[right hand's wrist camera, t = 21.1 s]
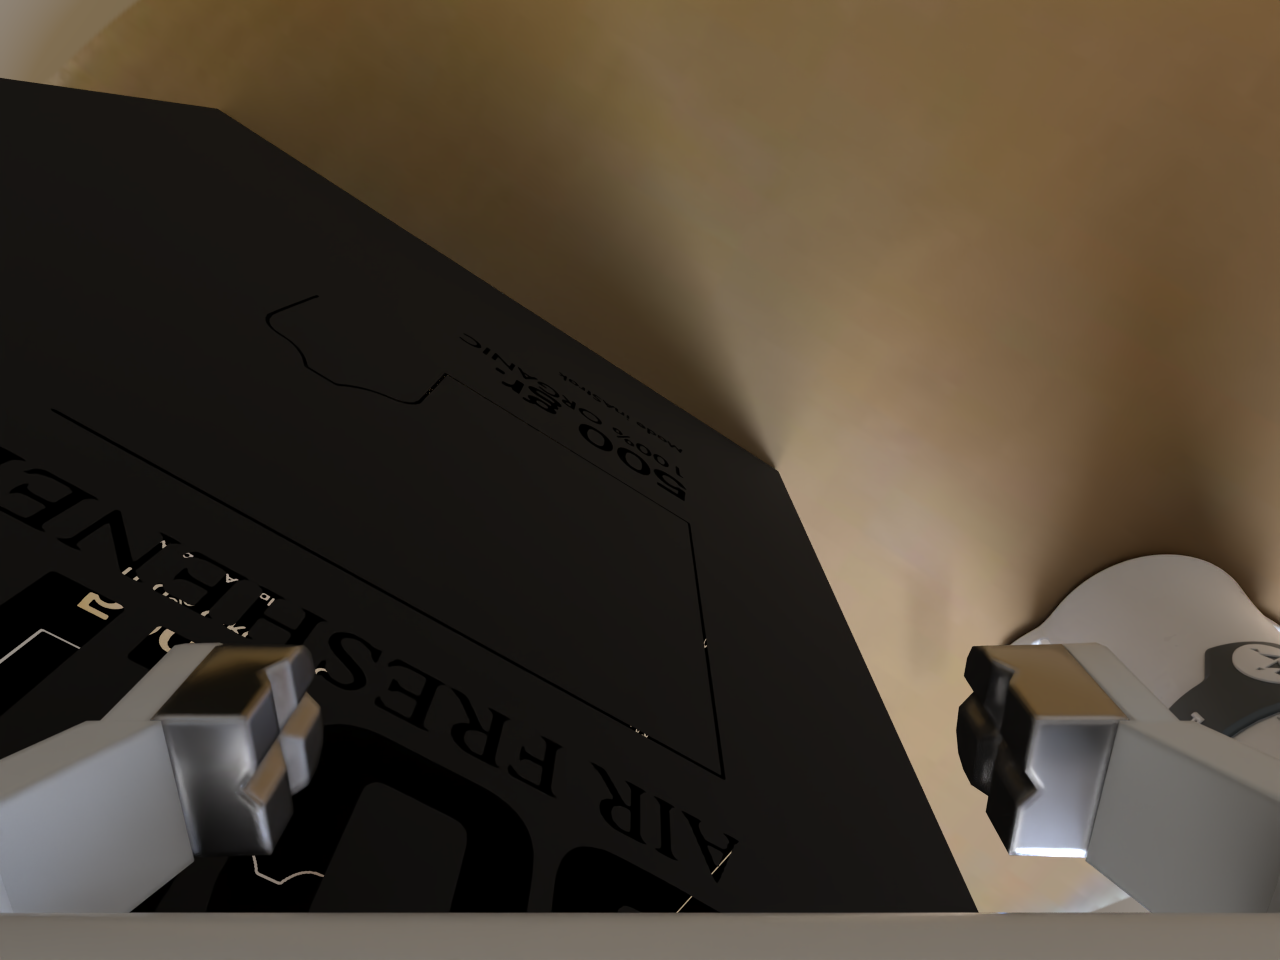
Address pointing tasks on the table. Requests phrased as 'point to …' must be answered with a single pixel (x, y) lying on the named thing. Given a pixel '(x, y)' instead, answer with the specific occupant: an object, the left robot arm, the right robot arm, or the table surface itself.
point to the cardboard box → (414, 553)
